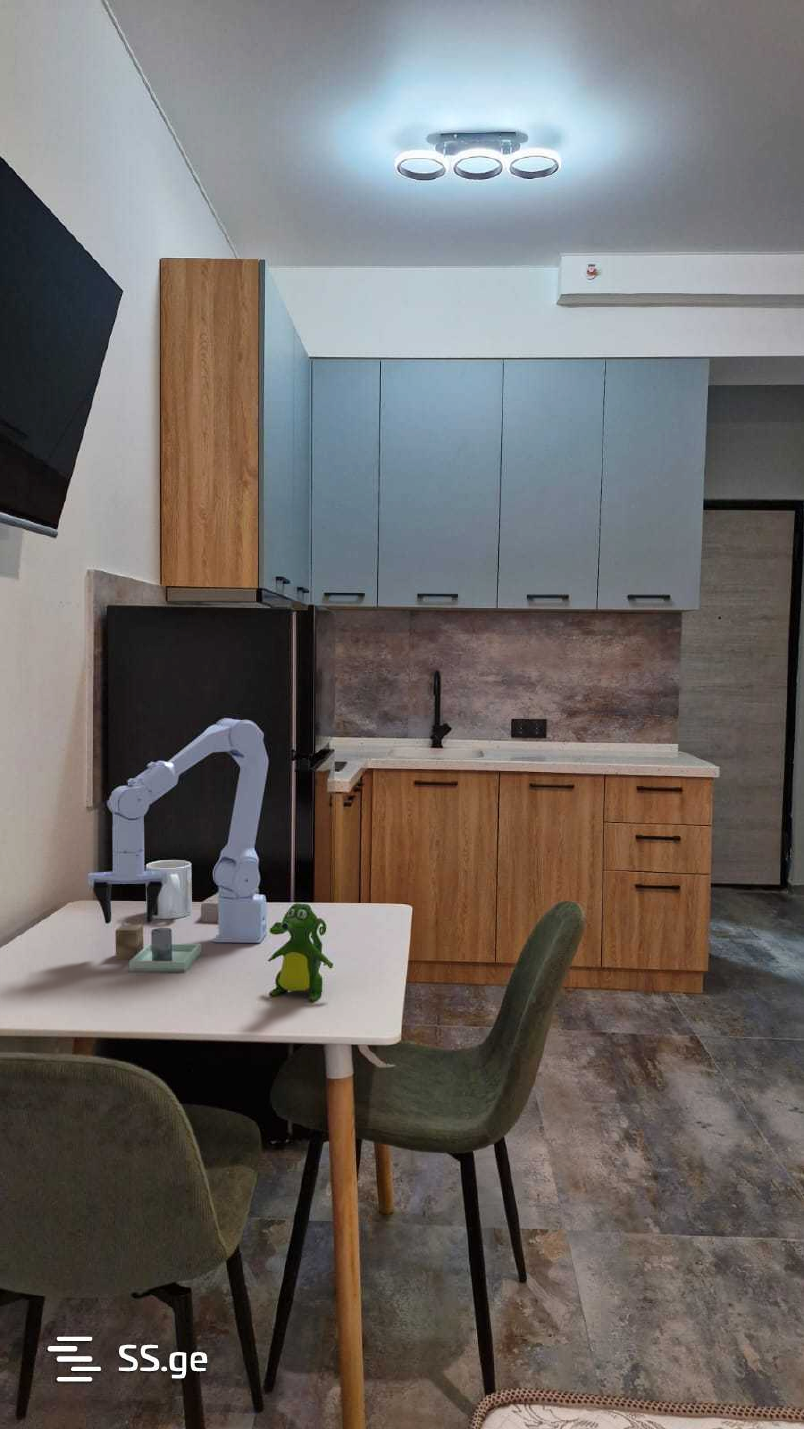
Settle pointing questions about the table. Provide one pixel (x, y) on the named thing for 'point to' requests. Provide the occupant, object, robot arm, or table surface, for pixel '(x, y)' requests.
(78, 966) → the table surface
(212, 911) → the brick
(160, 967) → the tray
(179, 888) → the mug
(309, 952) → the toy
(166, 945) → the peg
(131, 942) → the block
